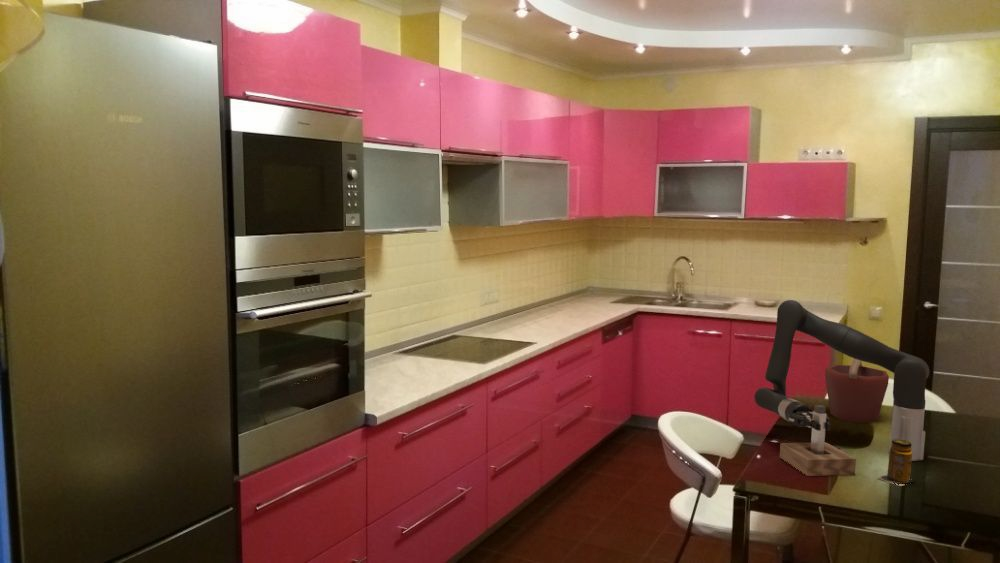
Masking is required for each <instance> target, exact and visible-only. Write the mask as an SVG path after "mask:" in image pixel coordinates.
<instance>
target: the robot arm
mask: <svg viewBox="0 0 1000 563" xmlns="http://www.w3.org/2000/svg"><path fill="white" fill-rule="evenodd" d="M776 311H777V312H776V314H777V315H776V326H775V332H774V333H775V335H774V340H773V344H772V349H771V352H770V356H769V360H768V363H767V368H766V370H765V375H764V378H765V380H766V381H767V382H769V383H771V385H772V386H773V389H771V388H768V387H760V388H758V389H756V391H755V392H754V402H755V403H756V404H755V405H757V406H758V407H760V408H761V409H764V410H767V411H769V412H772V413H774V414H775V415H778V416H780V417H781V418H782V419H784V420H786V421H787V422H788V423H789V424H792V425H794V426H795V427H799V428H801V427H802V428H806V427H807V428H810V429H812V428H814V429H815V430H817V431H820V429H821V424H820V423H818V422H816V421H813V411H812V409H811V407H810V406H808V405H807V404H805V403H803V402H801V401H799V400H796V399H793V398H790V397H789V396H787V389H786V388H787V384H786V382H787V376H788V371H789V368H790V363H791V357H792V349H793V342H794V337H795V334H796V331H797V332H800V333H803V334H806V335H808V336H811V337H813V338H815V339H816V340H817V341H820V342H821V343H823V344H824V345H826V346H828V347H829V348H831V349H833V350H835V351H837V352H839V353H841V354H843V355H846V356H847V357H849V358H853V360H854V359H857V360H861V362H864V363H868V364H871V365H876V366H879V367H882V368H884V369H886V370H887V371H890V372H891V373H893V387H892V388H893V389H892V398H893V402H892V403H893V405H892V414H891V427H890V439H889V447H888V450H889V451H888V453H889V452H890V448H891V445H892V440H894V439H901V440H906V441H909V442H910V443H911V444H912V446H911V448H912V449H911V452H912V462H913V461H914V462H915V461H923V460H924V455H925V454H924V452H925V443H926V431H925V430H924V421H925V410H926V384H927V379H928V378H929V376H930V367H929V365H928V364H927V362H926V361H925V360H924V359H922V358H921V357H918V356H915V355H912V354H909V353H907V352H904V351H900V350H898V349H896V348H893V347H891V346H888V345H886V344H885V343H883V342H881V341H879V340H878V339H875V338H874V337H872V336H869V335H867V334H866V333H863V332H862V331H859V330H858V329H855V328H852V327H850V326H849V325H848V326H847V325H845V324H843V323H839V322H835V321H832V320H828V319H824V318H823V317H820V316H818V315H817V314H815V313H813V312H812V311H809V310H808V309H807V308H804V306H803V305H802V304H801V303H800V302H798V301H797V300H793V299H787V300H785V301H783V302H781V303H780V304H779V306H778V308H777V310H776ZM831 429H832V423H830V418H829V416H828V414H826V427H825V431H831Z"/></svg>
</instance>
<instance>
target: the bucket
mask: <svg viewBox="0 0 1000 563" xmlns="http://www.w3.org/2000/svg"><path fill="white" fill-rule="evenodd" d="M862 362H863V361H861V360H857V359H854V358H853V359H852V363H851V365H850V364H849V365H847V364H846V365H845V364H833V365H830V366H826V367H825V371H824V378H825V385H826V393H827V399H828V400H827V401H828V408H829V414H830V415H832V416H833V417H835V418H837V419H839V420H841V421H849V422H854V423H858V424H863V423H864V424H865V423H866V422H867V423H877V421H878V419H879V415H880V412H881V410H882V405H883V403H884V399H885V396H886V392H887V389H888V387H889V379H890V378H889V377H890V376H889V374H888V373H887V371H886V370H882V369H877V368H873V367H868V366H863V363H862Z"/></svg>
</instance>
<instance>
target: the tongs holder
mask: <svg viewBox="0 0 1000 563" xmlns="http://www.w3.org/2000/svg"><path fill="white" fill-rule="evenodd" d="M779 444H780V445H779V459H780V458H781V459H783V460H784V461H783V460H782V461H783V462H785V461H786V462H788V463H789V464H791V465H792V466H793V468H794V467H795V468H796V469H795V468H794V469H795V470H797V469H798V470H799V471H798V470H797V471H798V472H800V471H801V472H802V474H803V475H804V474H805V476H807V477H814V476H817V477H818V476H819V477H820V476H823V477H824V476H852V475H856V466H857V465H856V464H857V458H855V457H854V456H851V455H850V454H848V453H847V452H844V451H843V450H841V449H838V448H837V447H836V446H833V445H831V444H829V443H828V442H825V441H824V454H825V455H815V454H813V453H812V452H810V450H811V442H780V443H779ZM781 459H780V460H781ZM786 462H785V463H786ZM788 463H787V464H788ZM789 464H788V465H789ZM791 465H790V466H791ZM792 466H791V467H792ZM801 472H800V473H801Z"/></svg>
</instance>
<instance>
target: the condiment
mask: <svg viewBox="0 0 1000 563" xmlns="http://www.w3.org/2000/svg"><path fill="white" fill-rule="evenodd" d="M911 446H912V444H911V443H910V442H909V441H906V440H901V439H894V440H892V445H891V448H890V452H889V451H888V454H889V455H888V465H887V466H888V467H887V475H882V476H879V477H877V479H879V480H881V481H884V482H887V483H890V484H893V485H895V484H896V486H899V487H902V486H903V487H904V486H906V485H905V484H899V485H898V484H897V483H895V484H894V483H893V481H895V482H900V483H908V482H909V480H910V479H911V471H912V470H911V469H912V463H913V461H912V452H911V449H912V448H911Z"/></svg>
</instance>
